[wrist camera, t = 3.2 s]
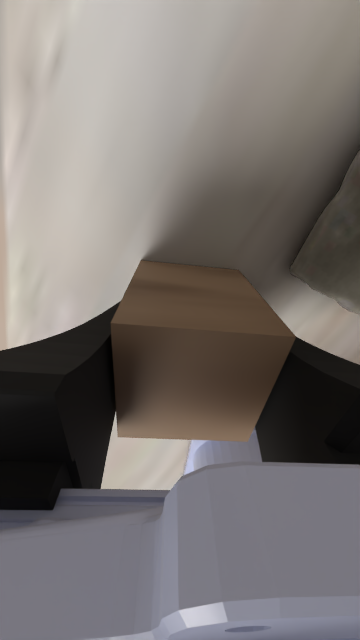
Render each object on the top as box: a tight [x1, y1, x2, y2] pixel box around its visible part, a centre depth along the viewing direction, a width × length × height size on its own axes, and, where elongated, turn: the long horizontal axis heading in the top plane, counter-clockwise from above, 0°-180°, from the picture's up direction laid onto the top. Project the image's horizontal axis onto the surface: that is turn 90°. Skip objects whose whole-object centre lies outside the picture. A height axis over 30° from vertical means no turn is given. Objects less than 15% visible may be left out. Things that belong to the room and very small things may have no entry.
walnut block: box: [111, 260, 296, 442], centre depth 10 cm, size 5×5×6 cm
